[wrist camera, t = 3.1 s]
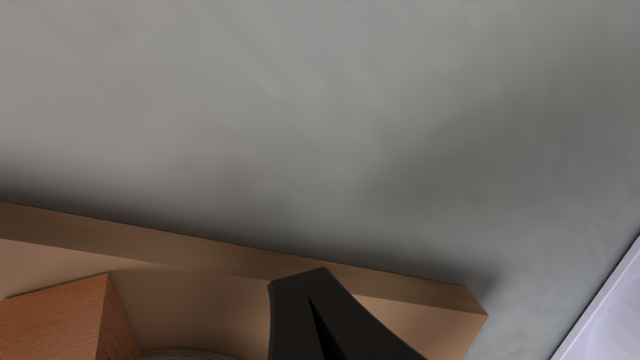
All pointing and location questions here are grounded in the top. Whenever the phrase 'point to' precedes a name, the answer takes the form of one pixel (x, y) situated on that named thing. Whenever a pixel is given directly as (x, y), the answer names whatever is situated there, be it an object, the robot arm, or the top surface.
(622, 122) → the top surface
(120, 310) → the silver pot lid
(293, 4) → the top surface
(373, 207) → the top surface
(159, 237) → the mounting board
